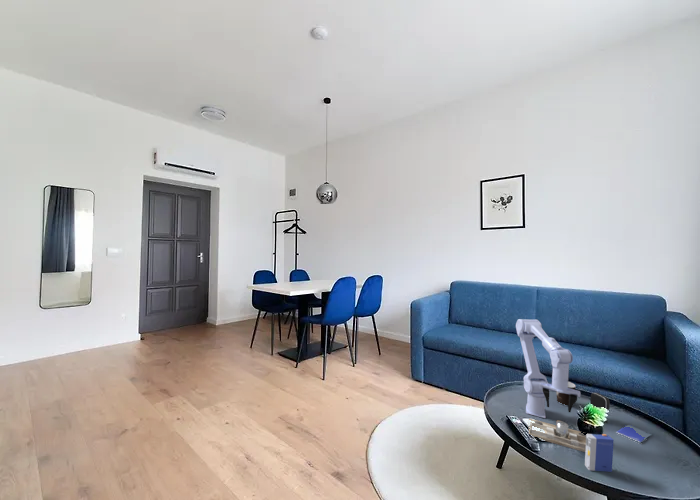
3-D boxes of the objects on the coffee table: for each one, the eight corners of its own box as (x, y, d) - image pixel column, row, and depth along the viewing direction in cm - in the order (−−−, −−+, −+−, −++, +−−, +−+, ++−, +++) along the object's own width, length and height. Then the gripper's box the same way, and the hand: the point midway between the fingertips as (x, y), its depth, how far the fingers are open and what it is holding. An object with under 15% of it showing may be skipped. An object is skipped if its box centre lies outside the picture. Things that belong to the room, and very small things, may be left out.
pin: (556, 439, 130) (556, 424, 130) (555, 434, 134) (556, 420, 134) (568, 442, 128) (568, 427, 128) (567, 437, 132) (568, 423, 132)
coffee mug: (555, 397, 170) (555, 378, 169) (574, 402, 165) (575, 383, 164) (553, 405, 160) (554, 386, 160) (574, 411, 155) (575, 391, 155)
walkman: (606, 466, 116) (607, 434, 116) (612, 472, 113) (613, 438, 113) (583, 464, 117) (585, 432, 116) (588, 470, 114) (590, 437, 114)
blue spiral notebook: (640, 441, 131) (651, 433, 137) (616, 431, 138) (627, 423, 144) (640, 445, 131) (651, 436, 137) (615, 434, 138) (627, 427, 144)
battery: (610, 422, 146) (611, 398, 146) (603, 423, 145) (605, 398, 145) (595, 414, 153) (596, 391, 153) (588, 415, 152) (590, 391, 152)
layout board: (528, 420, 146) (529, 411, 146) (593, 437, 134) (593, 428, 134) (528, 436, 134) (529, 426, 133) (599, 456, 122) (600, 445, 122)
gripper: (540, 376, 137) (539, 407, 138) (582, 385, 130) (580, 418, 131) (540, 371, 143) (538, 401, 144) (579, 379, 136) (578, 410, 137)
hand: (558, 408), depth 138 cm, fingers open, 7 cm apart
